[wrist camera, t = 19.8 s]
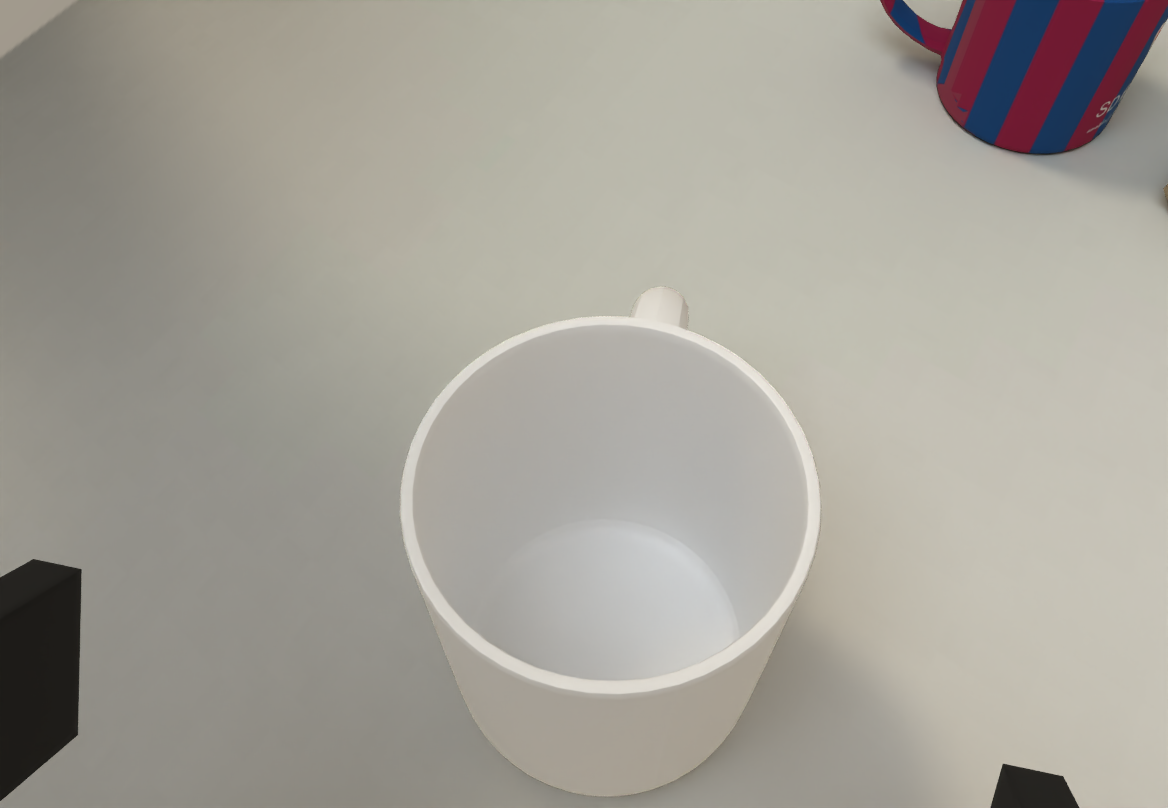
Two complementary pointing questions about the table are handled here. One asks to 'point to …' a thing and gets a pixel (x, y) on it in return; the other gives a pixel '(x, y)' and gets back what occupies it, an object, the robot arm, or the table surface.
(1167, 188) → the decorative object
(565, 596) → the mug
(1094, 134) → the cup
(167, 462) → the table surface
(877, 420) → the table surface
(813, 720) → the table surface
